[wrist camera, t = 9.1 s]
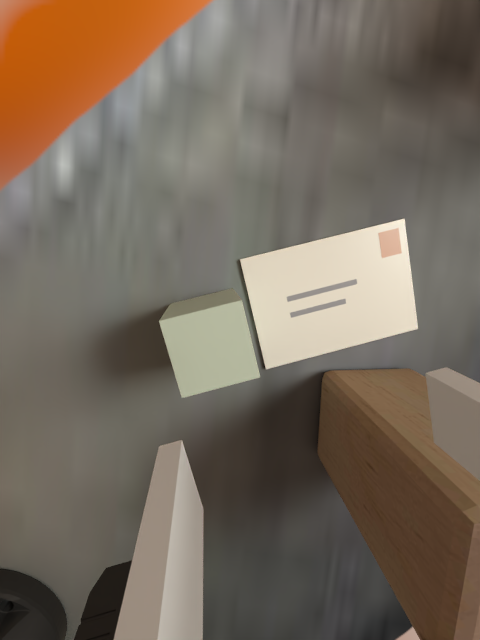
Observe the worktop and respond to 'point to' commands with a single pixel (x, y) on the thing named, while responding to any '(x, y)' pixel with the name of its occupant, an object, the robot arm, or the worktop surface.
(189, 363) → the sage block
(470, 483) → the wooden block
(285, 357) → the letter
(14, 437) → the worktop surface
